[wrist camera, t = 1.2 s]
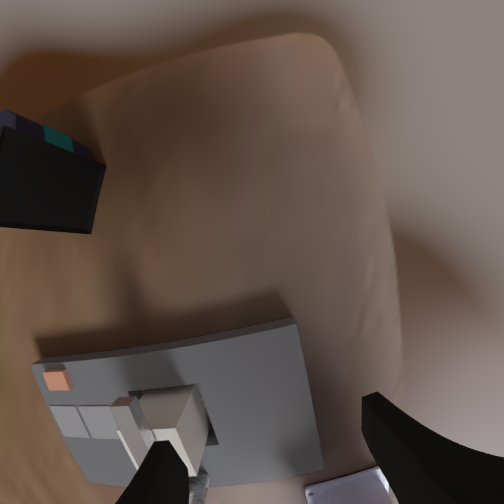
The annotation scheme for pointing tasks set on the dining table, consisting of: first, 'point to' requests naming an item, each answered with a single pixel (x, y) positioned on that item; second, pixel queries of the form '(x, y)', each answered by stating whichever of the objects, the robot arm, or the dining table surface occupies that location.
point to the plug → (176, 422)
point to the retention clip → (149, 441)
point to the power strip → (214, 396)
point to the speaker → (45, 178)
